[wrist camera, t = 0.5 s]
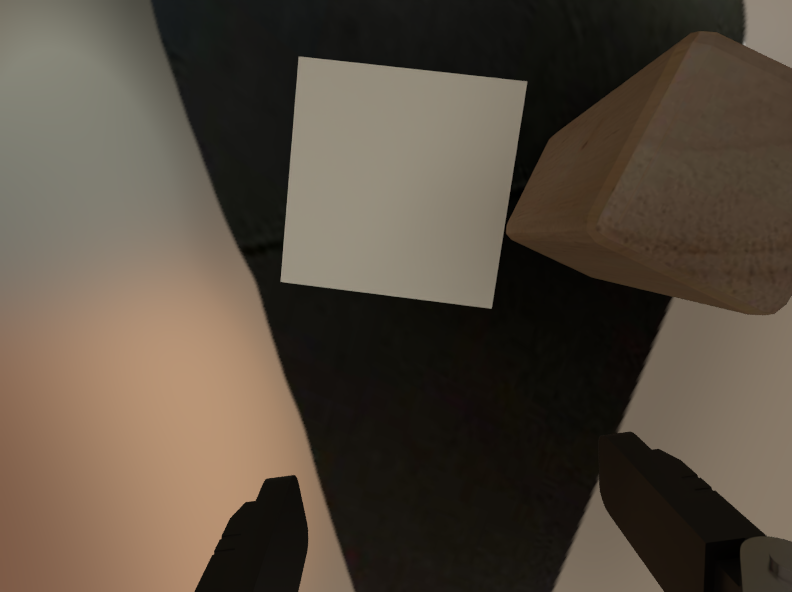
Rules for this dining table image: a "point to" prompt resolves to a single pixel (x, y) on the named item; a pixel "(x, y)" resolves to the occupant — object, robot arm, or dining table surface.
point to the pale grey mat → (400, 180)
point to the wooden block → (676, 181)
